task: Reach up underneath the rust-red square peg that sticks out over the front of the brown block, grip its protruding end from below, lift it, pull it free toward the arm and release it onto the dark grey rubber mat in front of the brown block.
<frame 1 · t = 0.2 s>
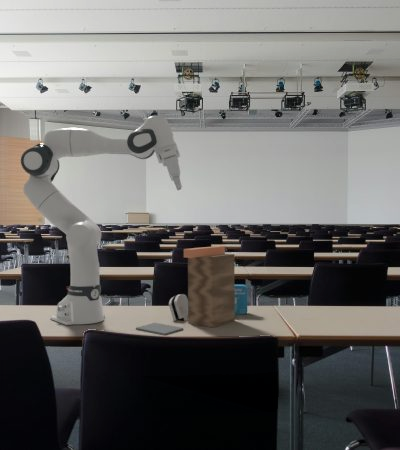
hand: (179, 188, 183), 52 cm above the table, tool tilted 20°, fingers open, 8 cm apart
pin: (205, 255, 176), point 26 cm above the table, touching brown block
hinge: (181, 317, 190), on the table
brown block: (211, 321, 180), on the table
mat: (159, 329, 168), on the table
data package: (233, 314, 195), on the table
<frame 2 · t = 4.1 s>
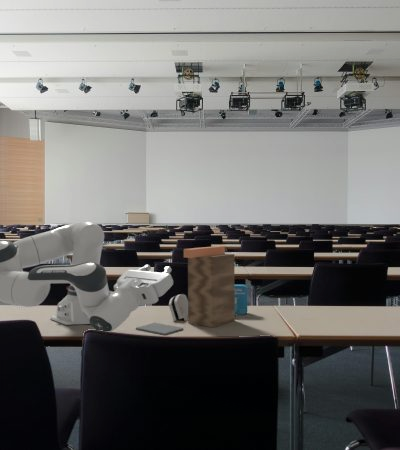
hand: (158, 267, 156), 24 cm above the table, tool pointing upward, fingers open, 8 cm apart
nothing on the table moved.
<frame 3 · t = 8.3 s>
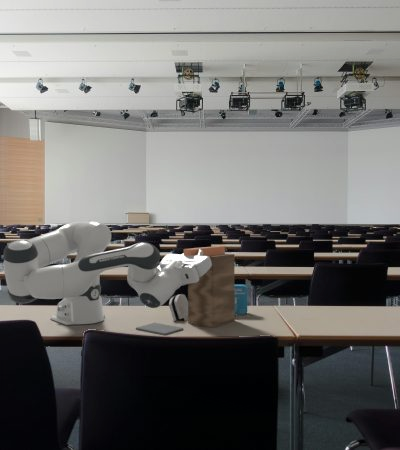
hand: (196, 251, 172), 28 cm above the table, tool pointing upward, fingers closed on pin, 3 cm apart
pin: (205, 255, 176), point 26 cm above the table, touching gripper, brown block
everything else where it was.
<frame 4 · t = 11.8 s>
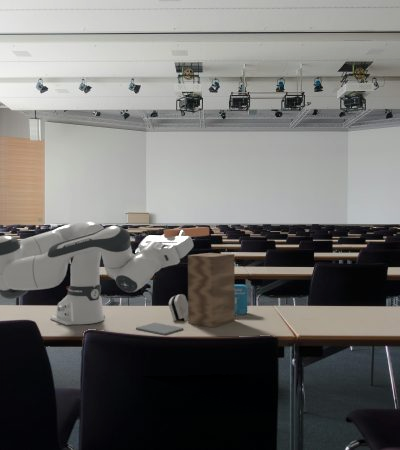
hand: (178, 232, 162), 35 cm above the table, tool pointing upward, fingers closed on pin, 3 cm apart
pin: (187, 236, 166), point 34 cm above the table, touching gripper
everything else where it was.
when the fingers open (18 cm above the table, at t = 15.5 s): pin drops 16 cm, resting on mat.
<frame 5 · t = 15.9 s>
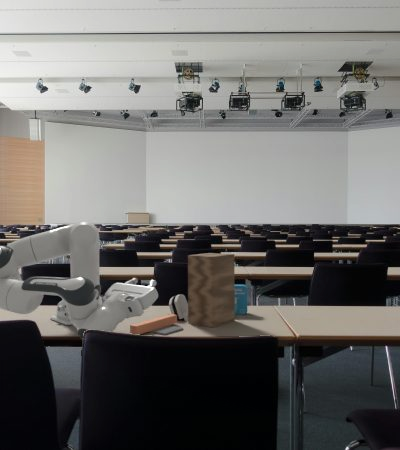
hand: (145, 280, 163), 18 cm above the table, tool pointing upward, fingers open, 8 cm apart
pin: (154, 328, 168), point 1 cm above the table, touching mat
everything else where it was.
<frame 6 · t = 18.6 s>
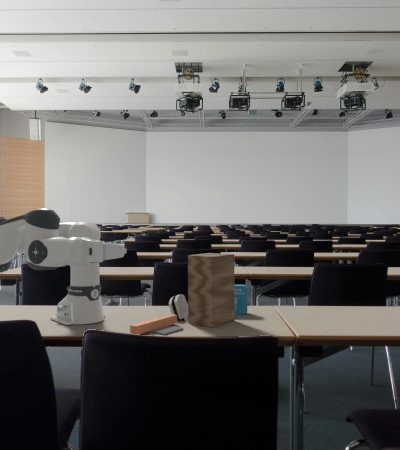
hand: (115, 250, 154), 30 cm above the table, tool horizontal, fingers open, 8 cm apart
nothing on the table moved.
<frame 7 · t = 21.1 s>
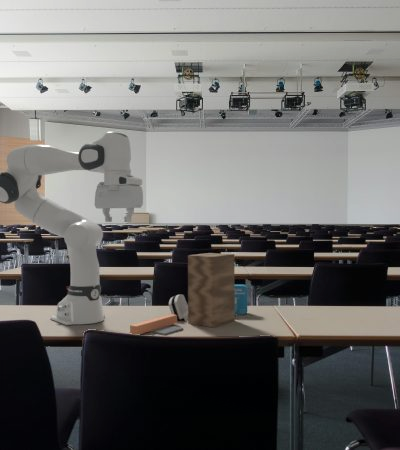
hand: (118, 222, 156), 39 cm above the table, tool pointing down, fingers open, 8 cm apart
nothing on the table moved.
at the end: pin inside the target area (0.6 cm from its centre), point 0.6 cm above the table; the gripper is holding nothing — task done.
